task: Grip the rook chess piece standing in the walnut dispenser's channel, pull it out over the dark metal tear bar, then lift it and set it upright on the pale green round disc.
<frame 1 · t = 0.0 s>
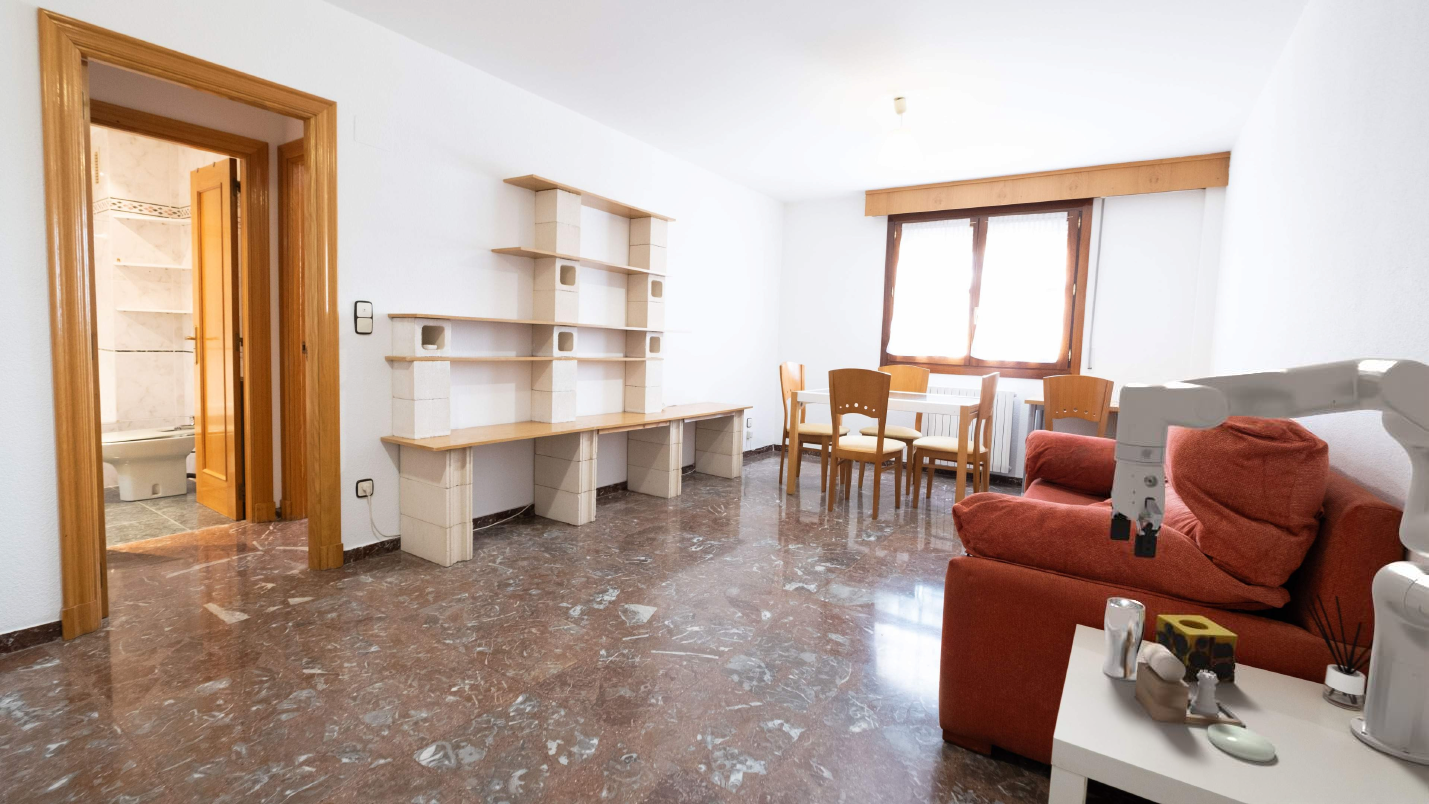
hand: (1131, 548, 118), 31 cm above the table, fingers open, 9 cm apart
pale green round disc: (1240, 744, 112), on the table
dispenser: (1159, 709, 122), on the table
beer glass: (1119, 674, 135), on the table
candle: (1192, 671, 138), on the table
rook chess piece: (1203, 715, 121), resting in dispenser
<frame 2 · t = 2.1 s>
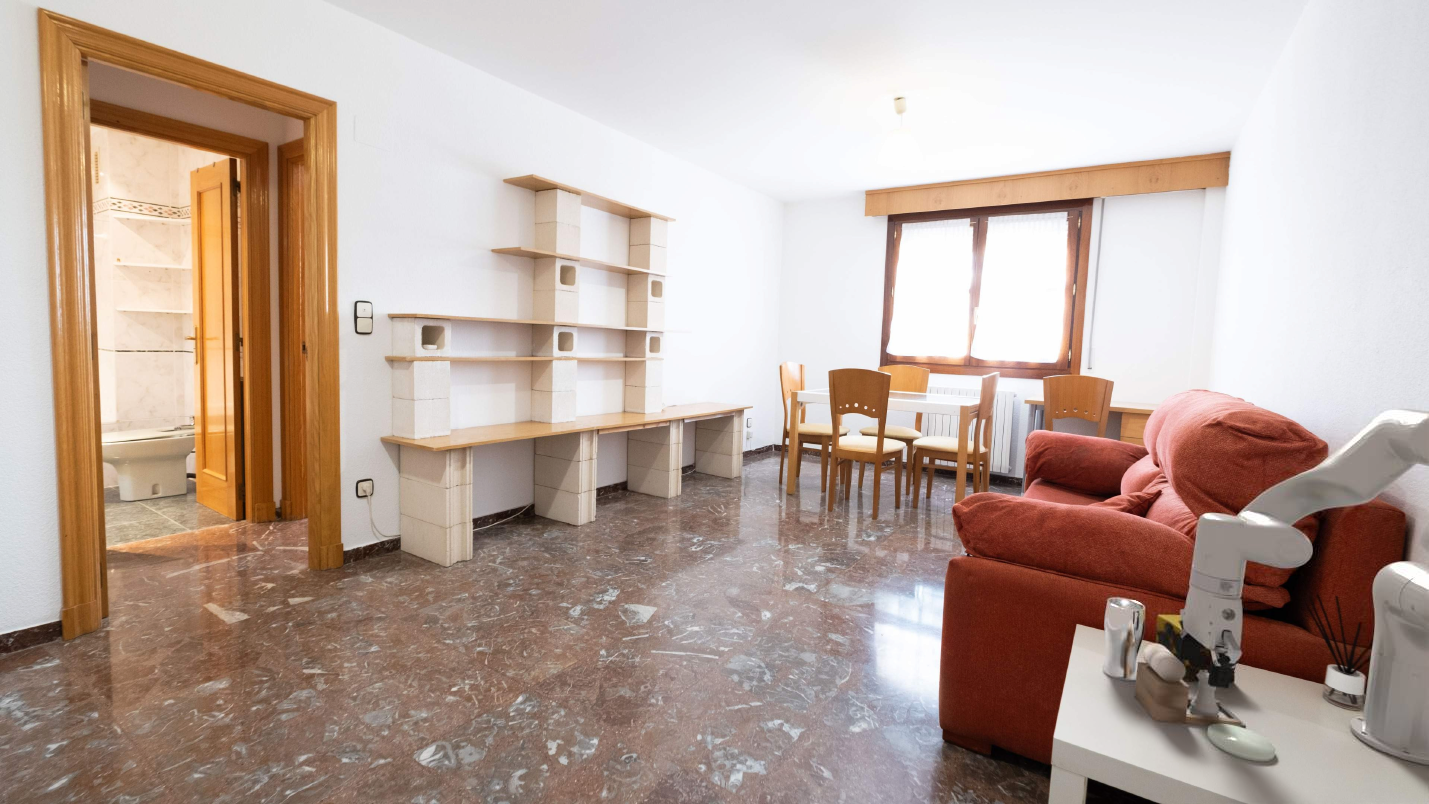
hand: (1202, 672, 121), 8 cm above the table, fingers open, 9 cm apart
nothing on the table moved.
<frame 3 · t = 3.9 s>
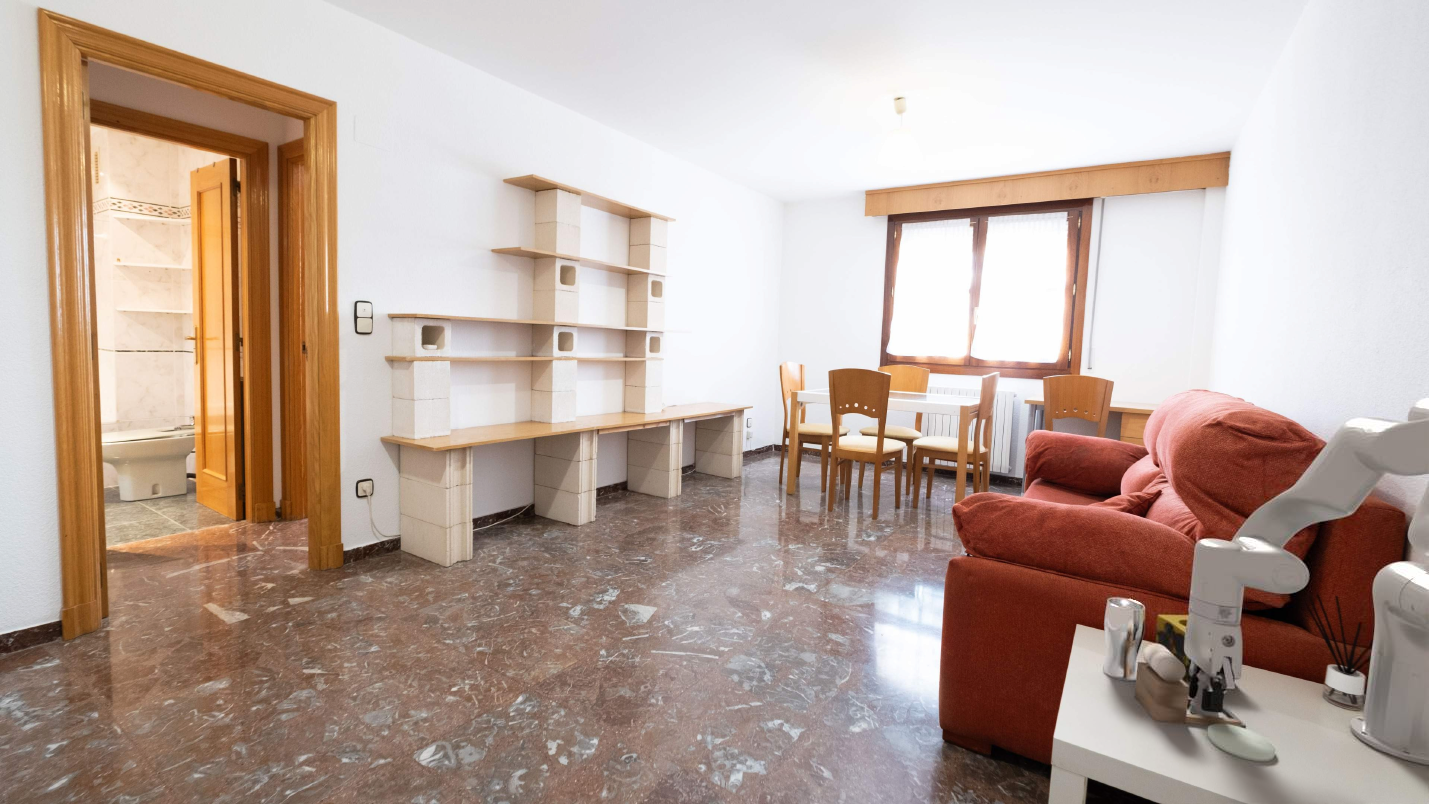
hand: (1204, 703, 121), 2 cm above the table, fingers closed on rook chess piece, 3 cm apart
rook chess piece: (1203, 715, 121), resting in dispenser, touching gripper
everything else where it was.
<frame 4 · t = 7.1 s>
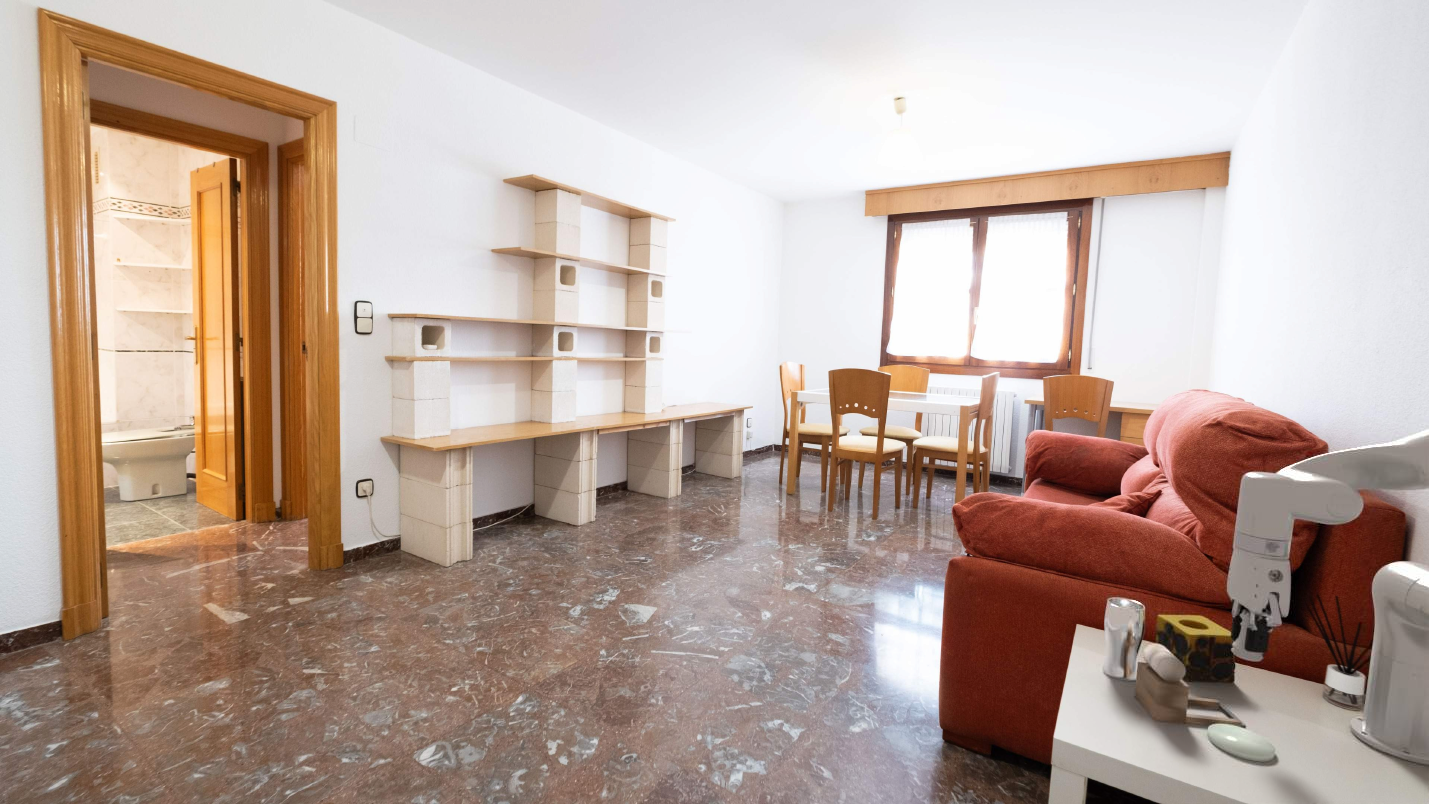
hand: (1248, 644, 116), 15 cm above the table, fingers closed on rook chess piece, 3 cm apart
rook chess piece: (1246, 657, 116), point 13 cm above the table, touching gripper
everything else where it was.
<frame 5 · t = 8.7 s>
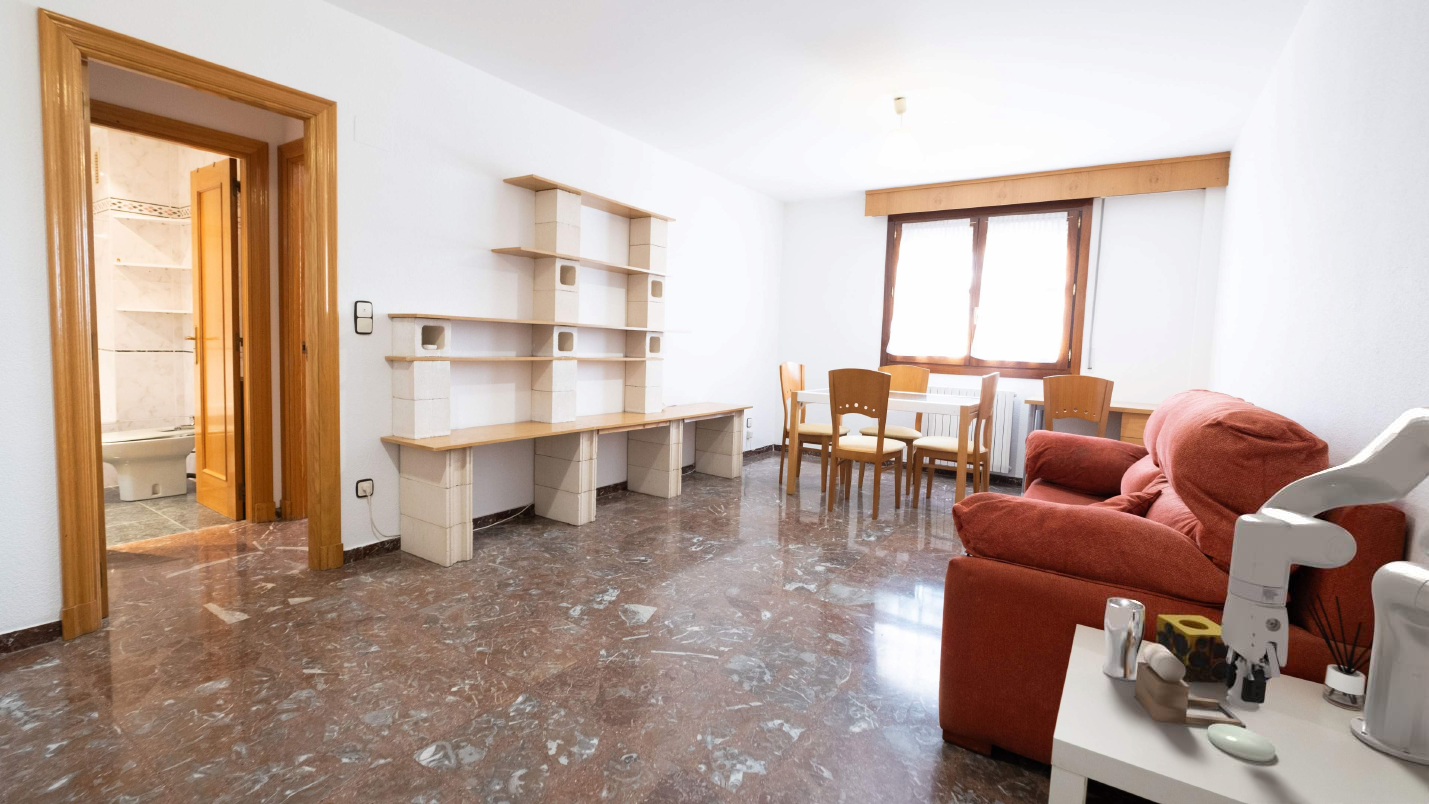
hand: (1244, 693, 111), 9 cm above the table, fingers closed on rook chess piece, 3 cm apart
rook chess piece: (1242, 706, 111), point 7 cm above the table, touching gripper
everything else where it was.
when the fingers open (4 cm above the table, at t = 10.3 s): rook chess piece stays where it is, resting on pale green round disc.
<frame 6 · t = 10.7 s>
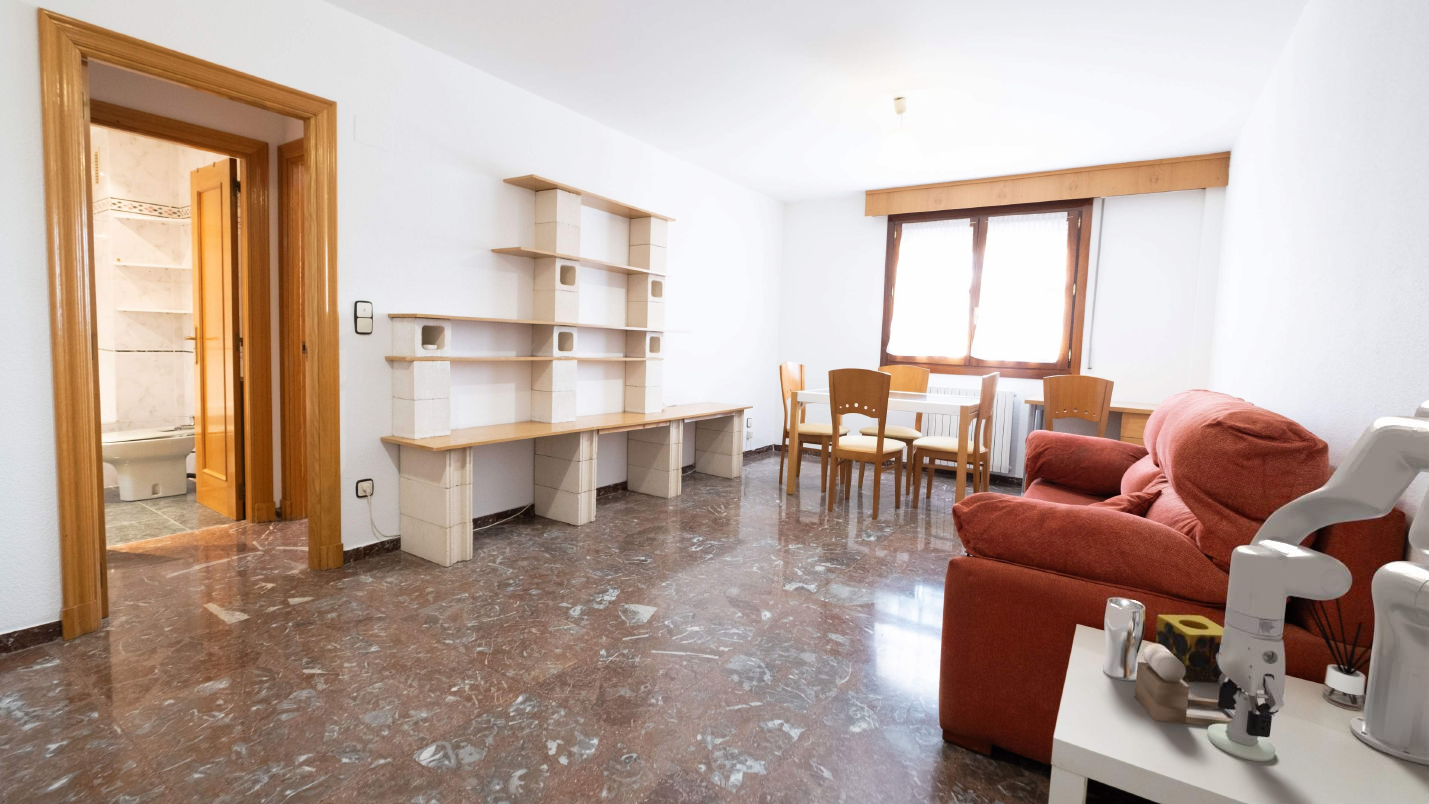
hand: (1242, 720, 112), 4 cm above the table, fingers open, 7 cm apart
rook chess piece: (1241, 740, 112), point 1 cm above the table, touching pale green round disc
everything else where it was.
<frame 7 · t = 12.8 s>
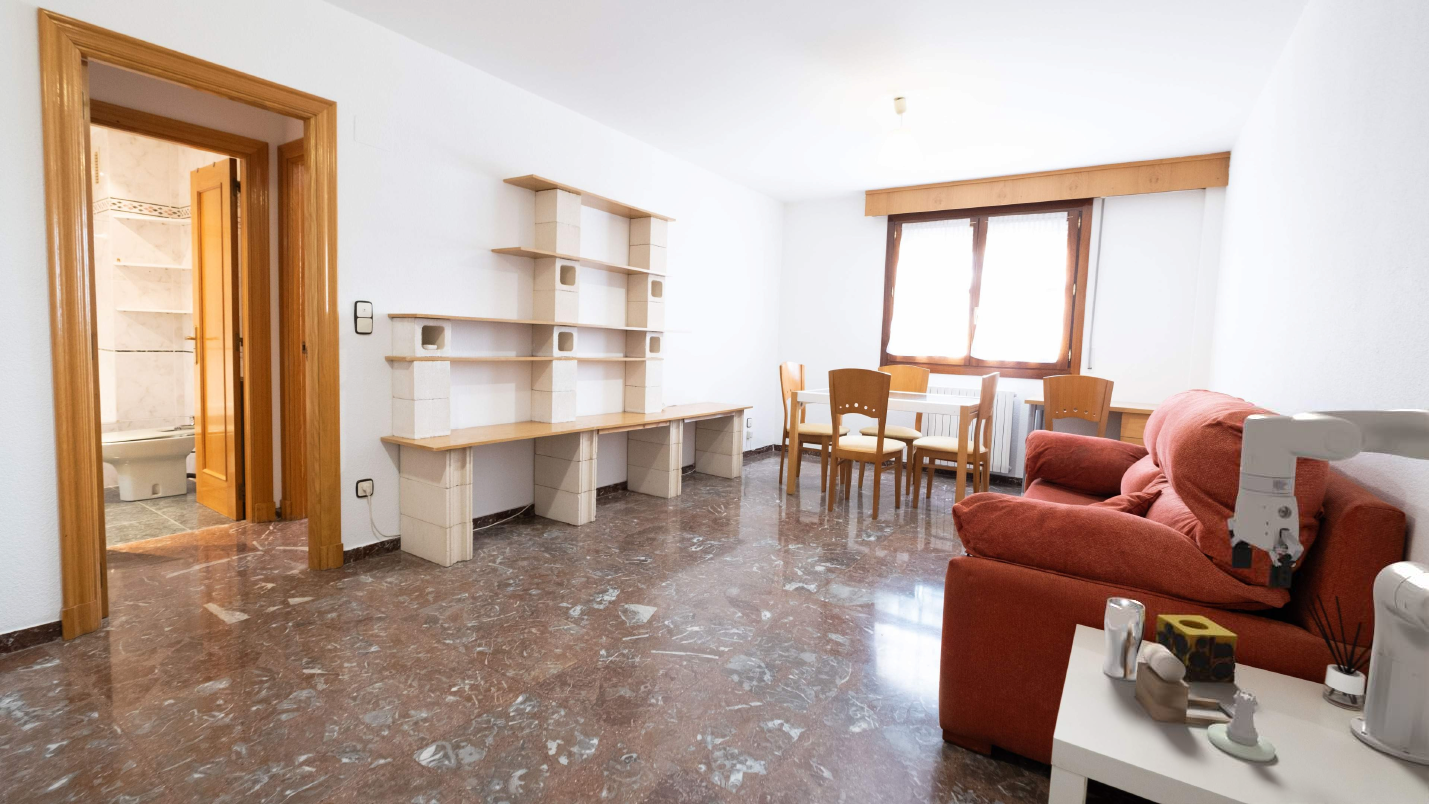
hand: (1259, 577, 119), 26 cm above the table, fingers open, 9 cm apart
nothing on the table moved.
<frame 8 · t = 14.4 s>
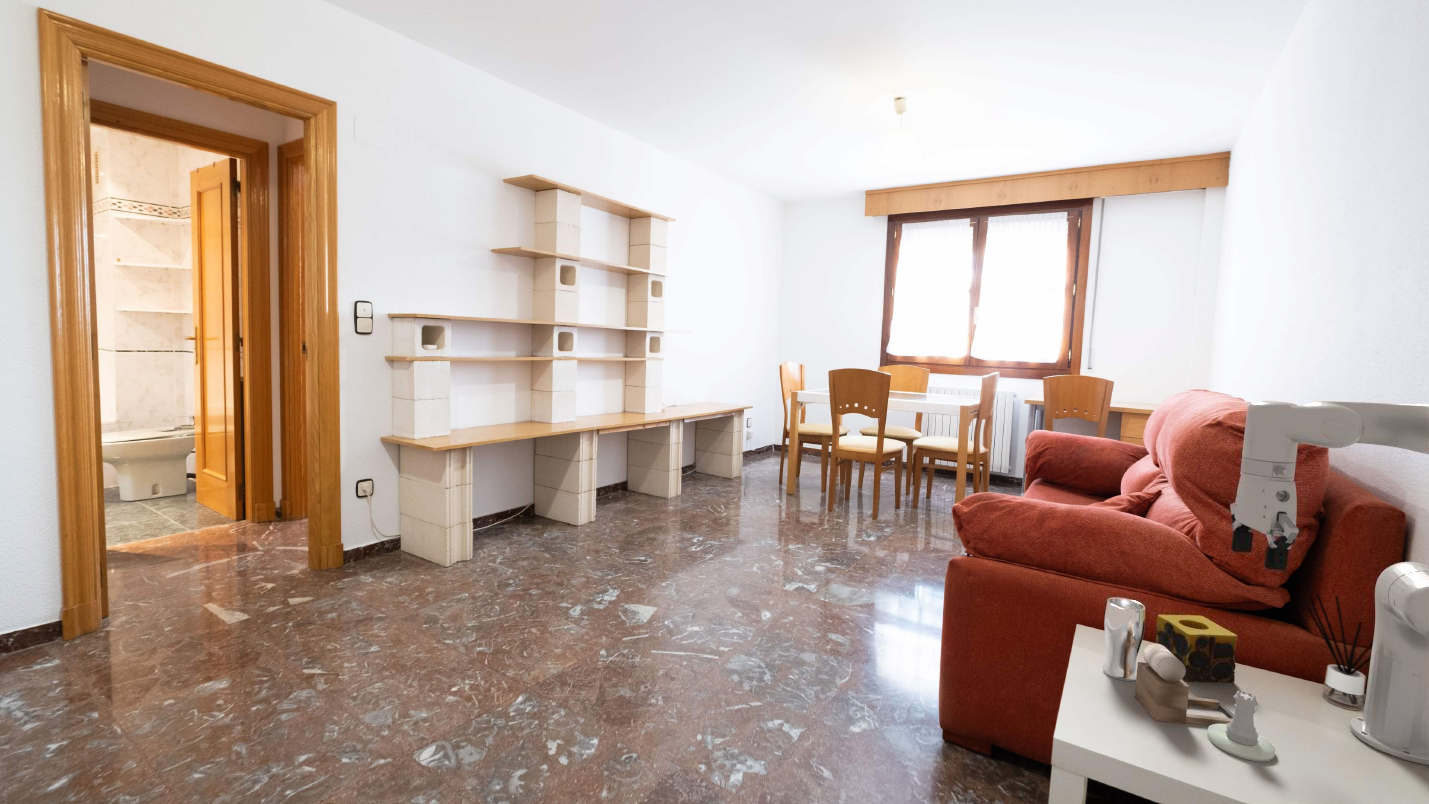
hand: (1257, 560, 122), 28 cm above the table, fingers open, 9 cm apart
nothing on the table moved.
at the end: rook chess piece 0.1 cm from the pale green round disc (horizontally); rook chess piece tilted 0°; rook chess piece point 0.8 cm above the table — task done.
